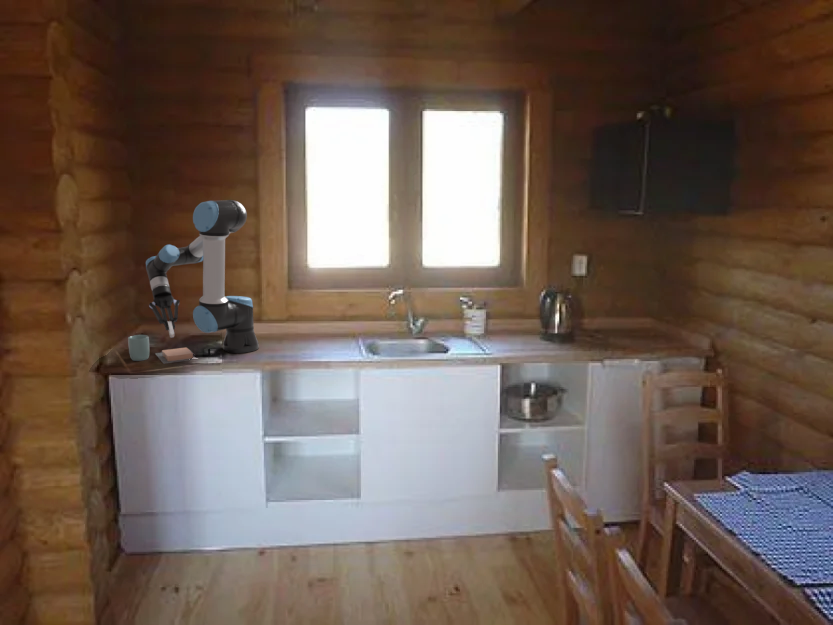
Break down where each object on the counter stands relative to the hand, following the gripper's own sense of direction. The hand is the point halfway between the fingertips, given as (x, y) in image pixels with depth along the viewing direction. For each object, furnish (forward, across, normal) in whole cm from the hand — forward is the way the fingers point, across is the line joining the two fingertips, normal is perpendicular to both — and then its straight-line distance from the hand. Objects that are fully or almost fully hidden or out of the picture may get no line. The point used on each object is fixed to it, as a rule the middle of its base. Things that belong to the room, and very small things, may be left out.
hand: (172, 335), depth 314 cm
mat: (+11, +1, +1) cm, 11 cm away
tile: (+7, 0, -1) cm, 7 cm away
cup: (+9, +14, -2) cm, 17 cm away
